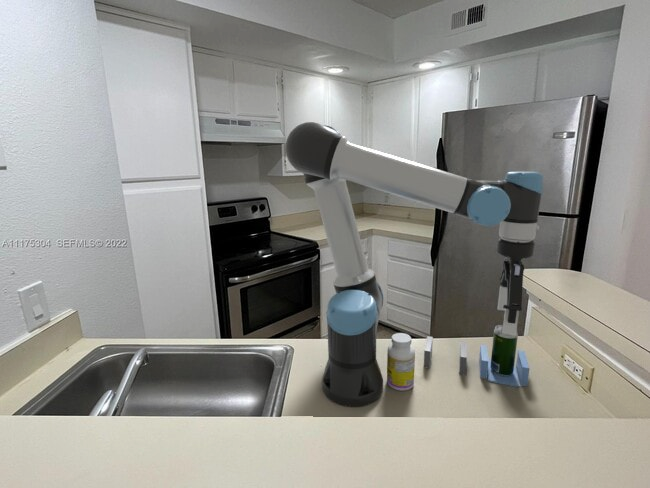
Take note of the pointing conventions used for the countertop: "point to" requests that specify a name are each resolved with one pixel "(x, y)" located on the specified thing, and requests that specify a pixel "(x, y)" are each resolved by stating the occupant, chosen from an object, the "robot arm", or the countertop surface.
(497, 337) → the beer can
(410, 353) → the supplement bottle
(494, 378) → the blue bezel pad
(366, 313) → the robot arm
